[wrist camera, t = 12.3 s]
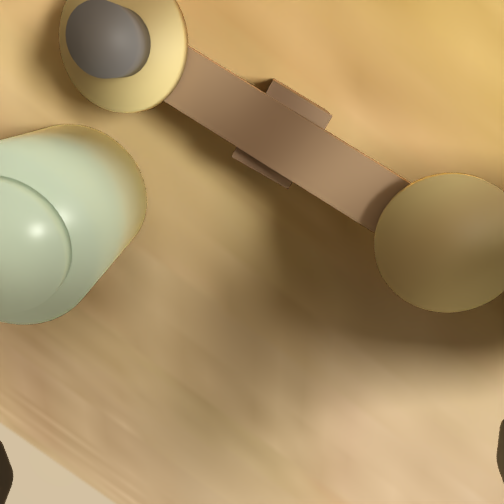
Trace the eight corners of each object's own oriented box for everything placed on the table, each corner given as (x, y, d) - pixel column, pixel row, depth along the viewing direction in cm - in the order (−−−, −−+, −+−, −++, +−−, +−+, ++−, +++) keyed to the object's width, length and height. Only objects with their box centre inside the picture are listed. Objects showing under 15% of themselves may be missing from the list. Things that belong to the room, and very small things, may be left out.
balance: (488, 184, 19) (564, 227, 14) (420, 271, 21) (466, 339, 16) (108, -49, 17) (33, -99, 12) (64, 69, 19) (-19, 71, 13)
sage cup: (132, 117, 19) (62, 141, 13) (157, 252, 21) (108, 328, 15) (-7, 131, 20) (-136, 160, 14) (32, 262, 22) (-65, 338, 16)
